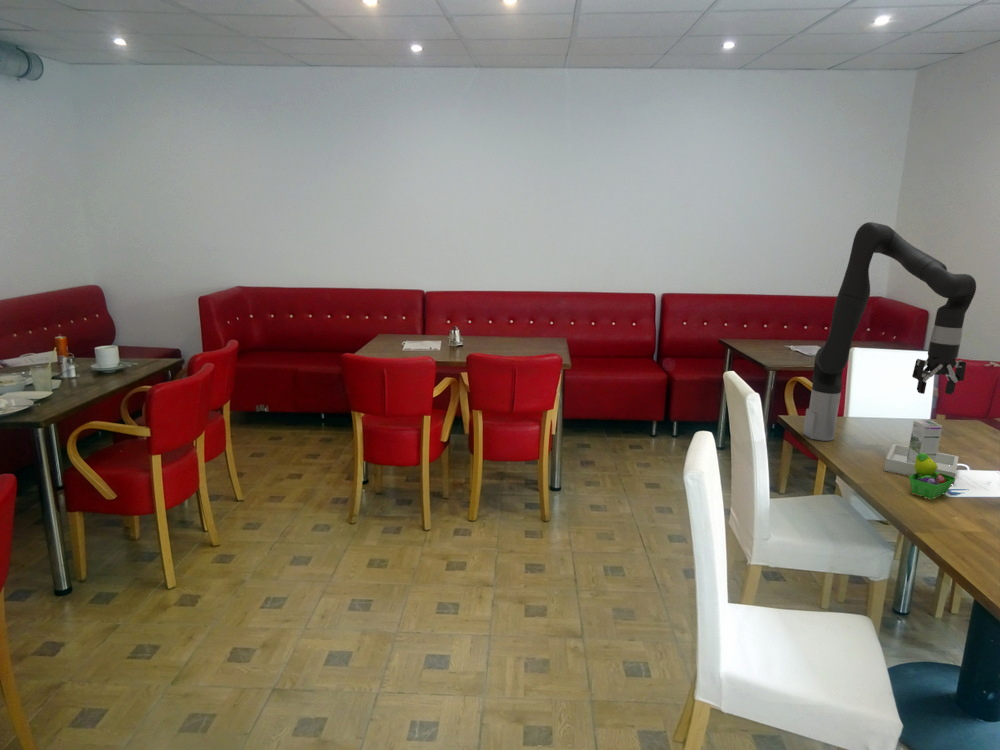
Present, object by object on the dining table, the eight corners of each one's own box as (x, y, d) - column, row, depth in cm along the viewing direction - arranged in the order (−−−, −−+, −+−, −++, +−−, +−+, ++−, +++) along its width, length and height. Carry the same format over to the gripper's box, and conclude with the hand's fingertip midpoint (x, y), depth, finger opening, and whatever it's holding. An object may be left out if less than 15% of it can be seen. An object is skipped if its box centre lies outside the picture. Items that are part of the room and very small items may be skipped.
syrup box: (935, 470, 201) (944, 425, 197) (916, 469, 201) (924, 425, 197) (923, 463, 206) (932, 419, 203) (905, 462, 206) (913, 419, 203)
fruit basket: (933, 503, 180) (941, 464, 177) (900, 491, 187) (907, 454, 184) (953, 494, 185) (961, 457, 183) (920, 483, 193) (927, 447, 190)
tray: (953, 485, 192) (955, 473, 191) (883, 470, 202) (885, 458, 201) (956, 468, 206) (958, 456, 205) (891, 454, 216) (893, 443, 215)
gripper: (929, 343, 190) (919, 396, 194) (977, 344, 190) (966, 397, 194) (913, 338, 197) (904, 389, 201) (959, 339, 198) (949, 390, 202)
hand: (934, 393), depth 198 cm, fingers open, 8 cm apart
